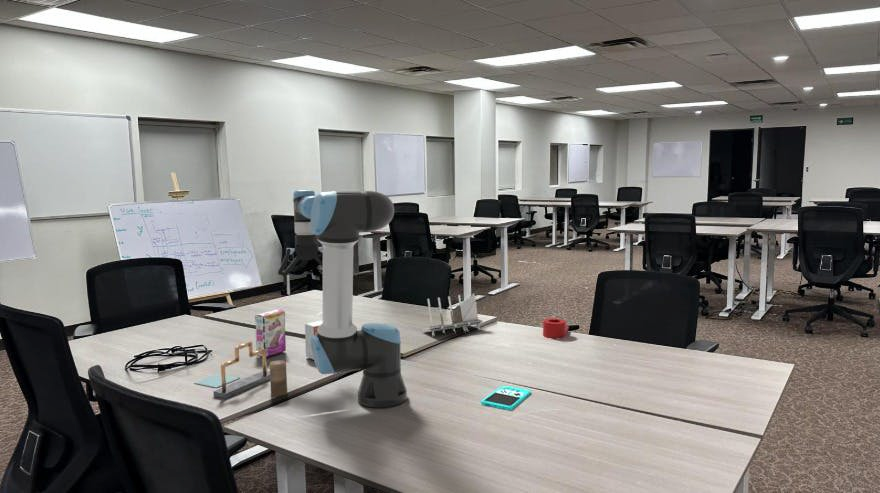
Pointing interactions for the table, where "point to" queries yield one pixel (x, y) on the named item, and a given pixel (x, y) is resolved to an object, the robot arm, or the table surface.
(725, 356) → the table surface
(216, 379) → the mat
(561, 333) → the red saucepan
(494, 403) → the handheld game console
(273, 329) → the candy bar box
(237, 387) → the wire frame
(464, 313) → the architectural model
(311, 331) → the small box
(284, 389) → the walnut peg
